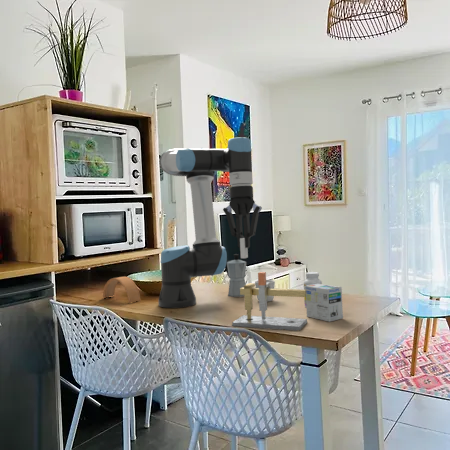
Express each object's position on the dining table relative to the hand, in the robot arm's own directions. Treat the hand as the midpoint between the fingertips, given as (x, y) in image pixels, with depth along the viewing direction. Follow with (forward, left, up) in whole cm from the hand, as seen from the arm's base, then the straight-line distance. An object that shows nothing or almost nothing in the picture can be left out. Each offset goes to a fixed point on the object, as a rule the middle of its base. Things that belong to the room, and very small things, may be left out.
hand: (244, 257), depth 150 cm
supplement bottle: (+16, +28, -22) cm, 39 cm away
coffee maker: (-22, +45, -22) cm, 55 cm away
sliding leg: (+6, +2, -20) cm, 21 cm away
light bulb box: (+23, +13, -22) cm, 34 cm away
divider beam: (+8, +2, -20) cm, 22 cm away
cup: (-5, +34, -22) cm, 41 cm away
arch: (-68, +25, -22) cm, 76 cm away
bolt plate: (+8, 0, -22) cm, 23 cm away
